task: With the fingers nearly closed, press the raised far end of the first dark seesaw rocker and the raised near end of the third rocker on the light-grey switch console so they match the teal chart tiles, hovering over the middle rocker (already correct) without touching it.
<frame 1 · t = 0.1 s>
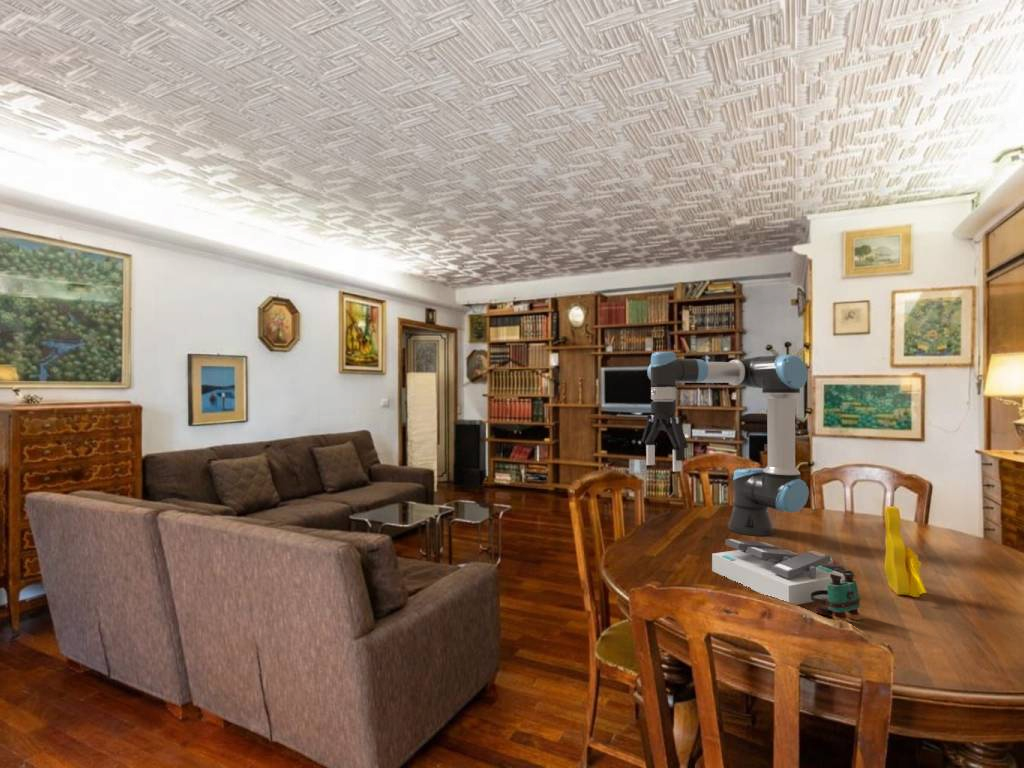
hand: (663, 468, 162), 28 cm above the table, fingers open, 13 cm apart
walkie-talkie: (824, 573, 148), on the table
binoculars: (833, 615, 120), on the table
switch 3: (800, 563, 133), point 8 cm above the table, hinge at 10.0°
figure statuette: (902, 593, 133), on the table
switch 1: (752, 545, 148), point 8 cm above the table, hinge at -10.0°
switch 2: (775, 554, 140), point 8 cm above the table, hinge at -10.0°
console: (775, 582, 140), on the table
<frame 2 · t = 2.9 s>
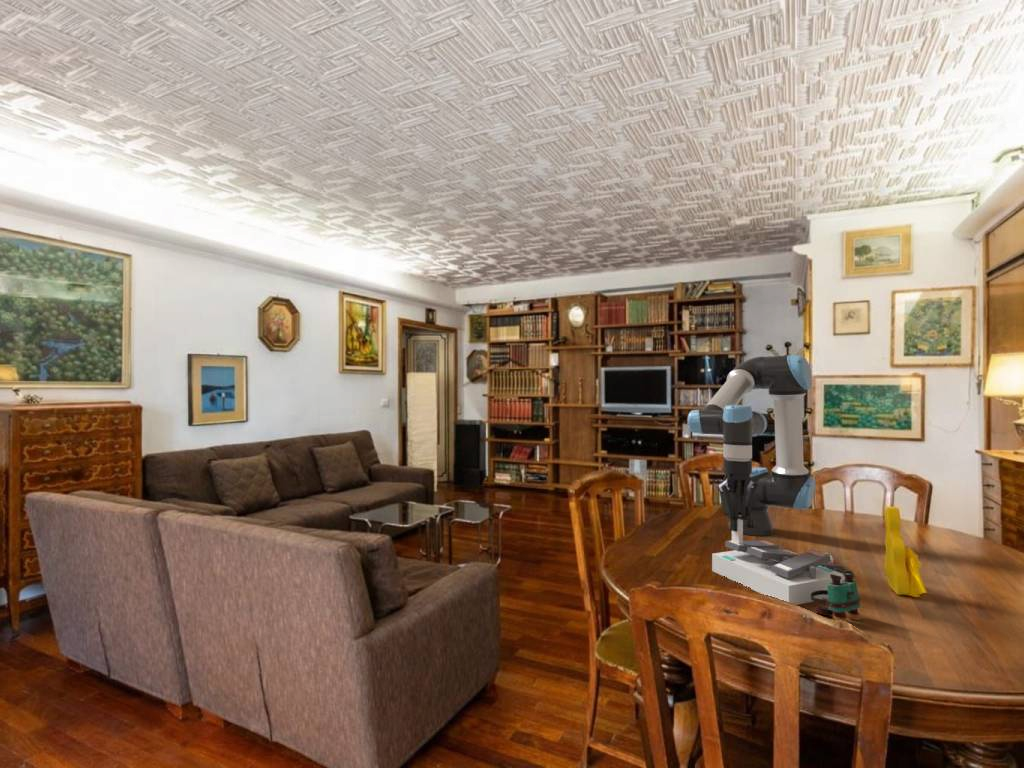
hand: (737, 542, 146), 9 cm above the table, fingers closed
switch 1: (752, 545, 148), point 8 cm above the table, hinge at -5.8°, touching gripper
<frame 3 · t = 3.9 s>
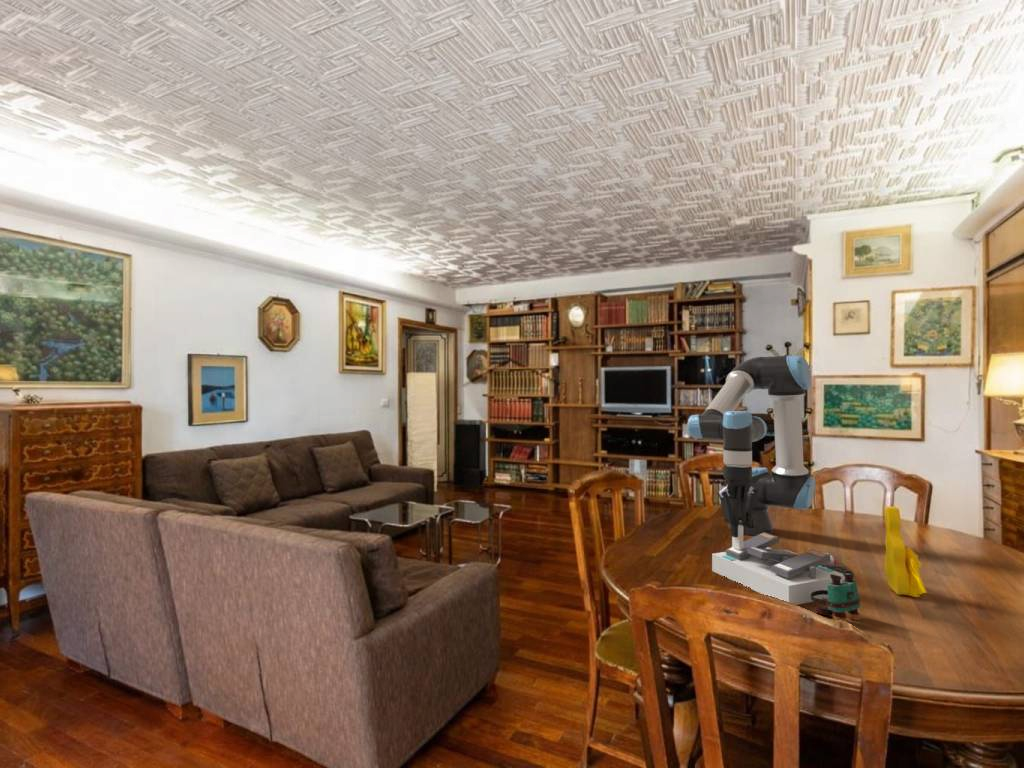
hand: (737, 547, 146), 8 cm above the table, fingers closed
switch 1: (752, 545, 148), point 8 cm above the table, hinge at 14.0°
everything else where it was.
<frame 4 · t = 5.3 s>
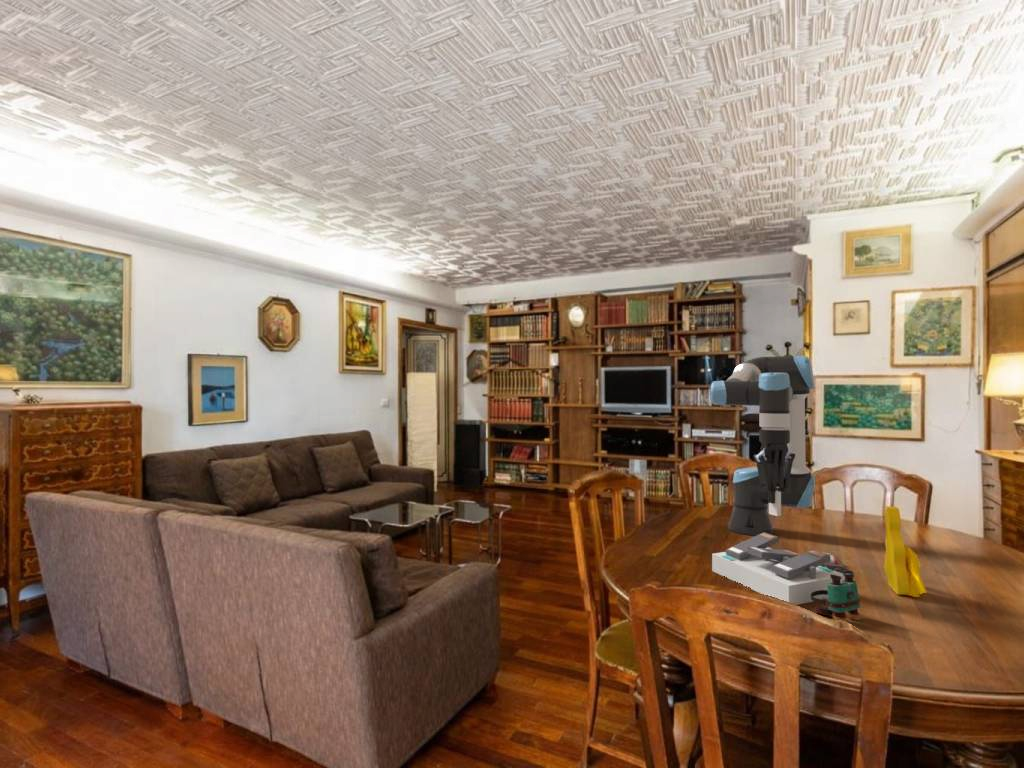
hand: (774, 514, 140), 18 cm above the table, fingers closed
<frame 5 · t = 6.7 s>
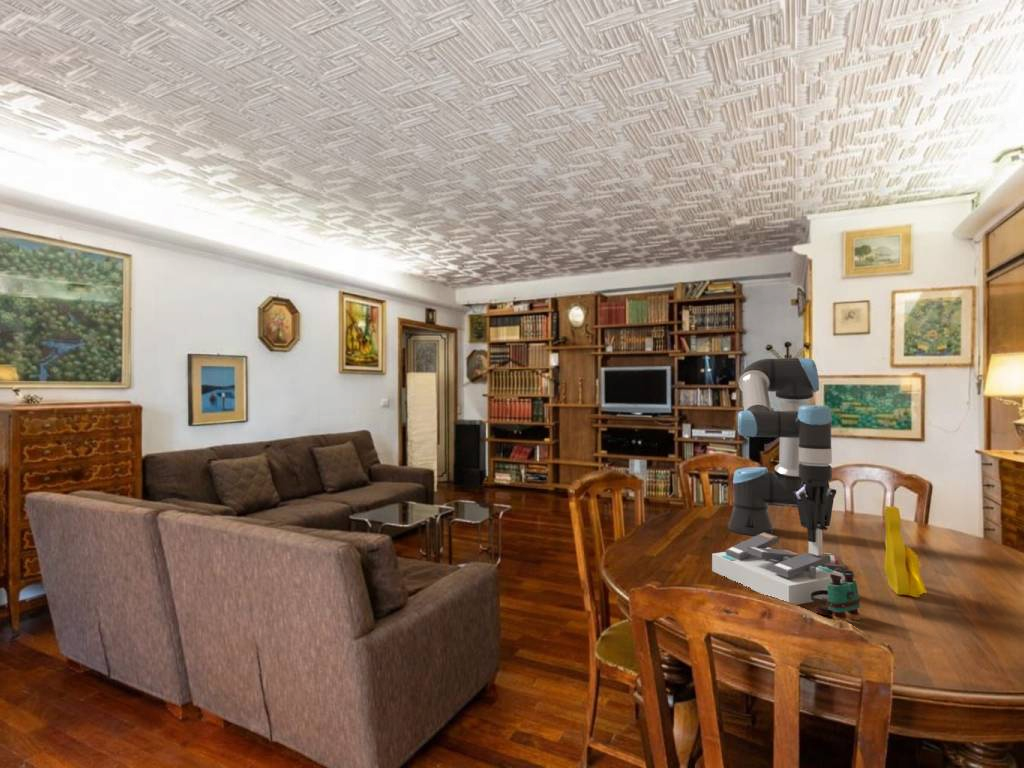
hand: (815, 553, 135), 10 cm above the table, fingers closed
switch 3: (800, 563, 133), point 8 cm above the table, hinge at 8.9°, touching gripper
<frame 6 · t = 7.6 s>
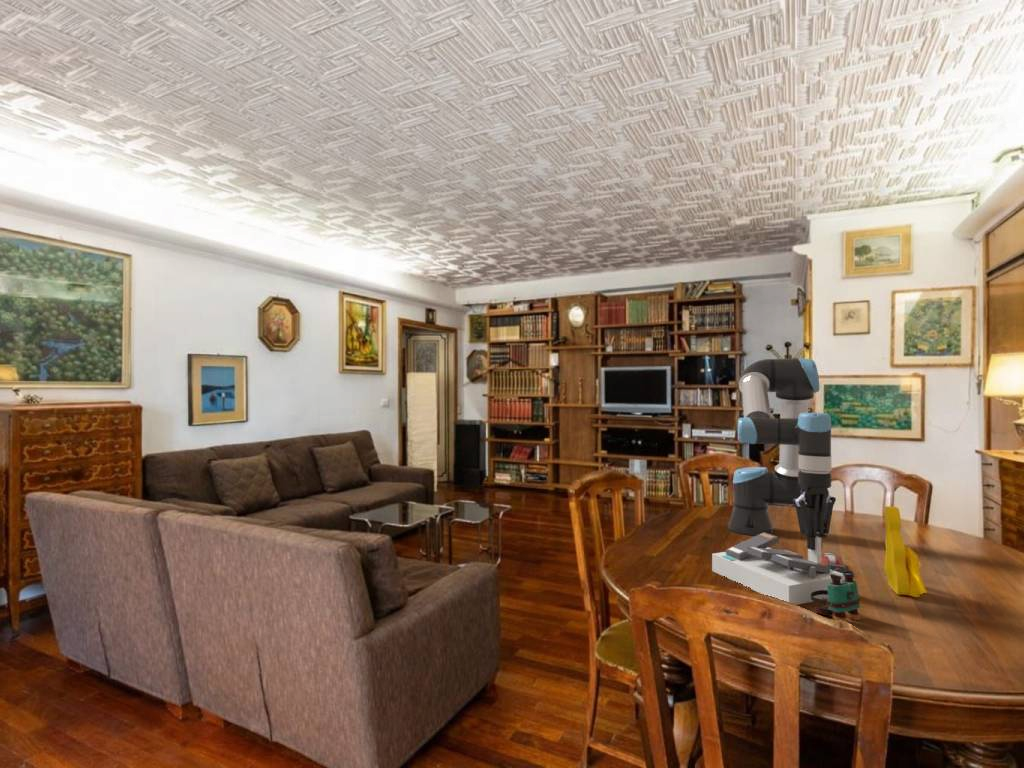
hand: (814, 561, 134), 8 cm above the table, fingers closed
switch 3: (801, 563, 133), point 8 cm above the table, hinge at -13.7°, touching gripper
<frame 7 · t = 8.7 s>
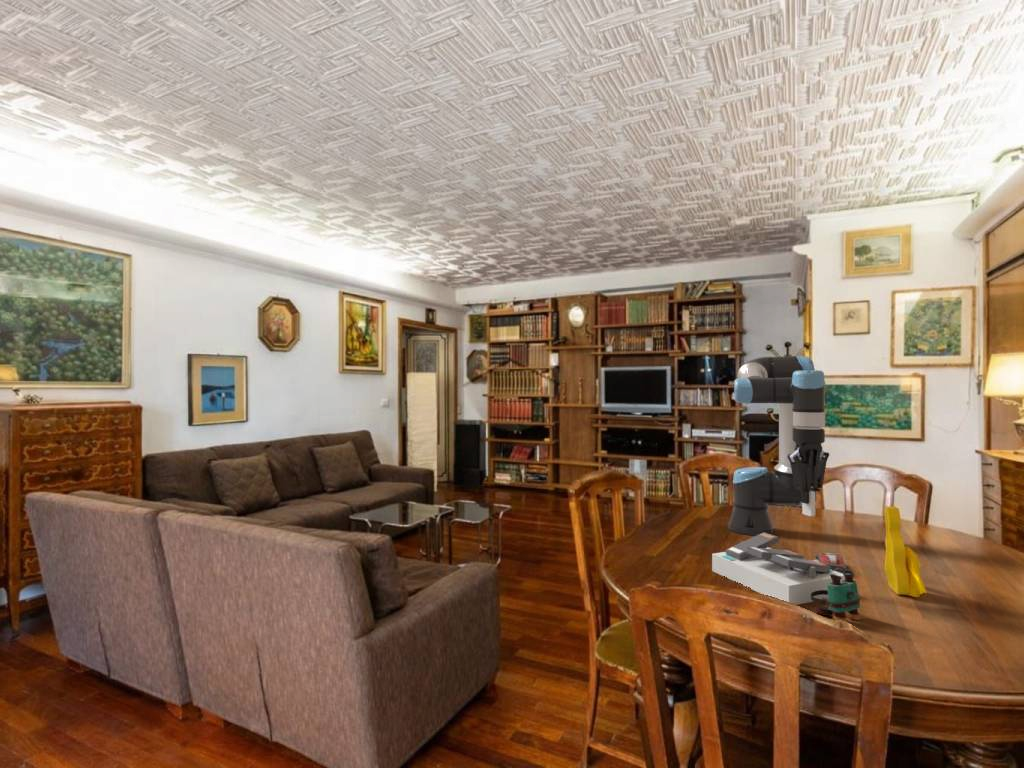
hand: (808, 514, 138), 19 cm above the table, fingers closed
switch 3: (801, 563, 133), point 8 cm above the table, hinge at -13.3°
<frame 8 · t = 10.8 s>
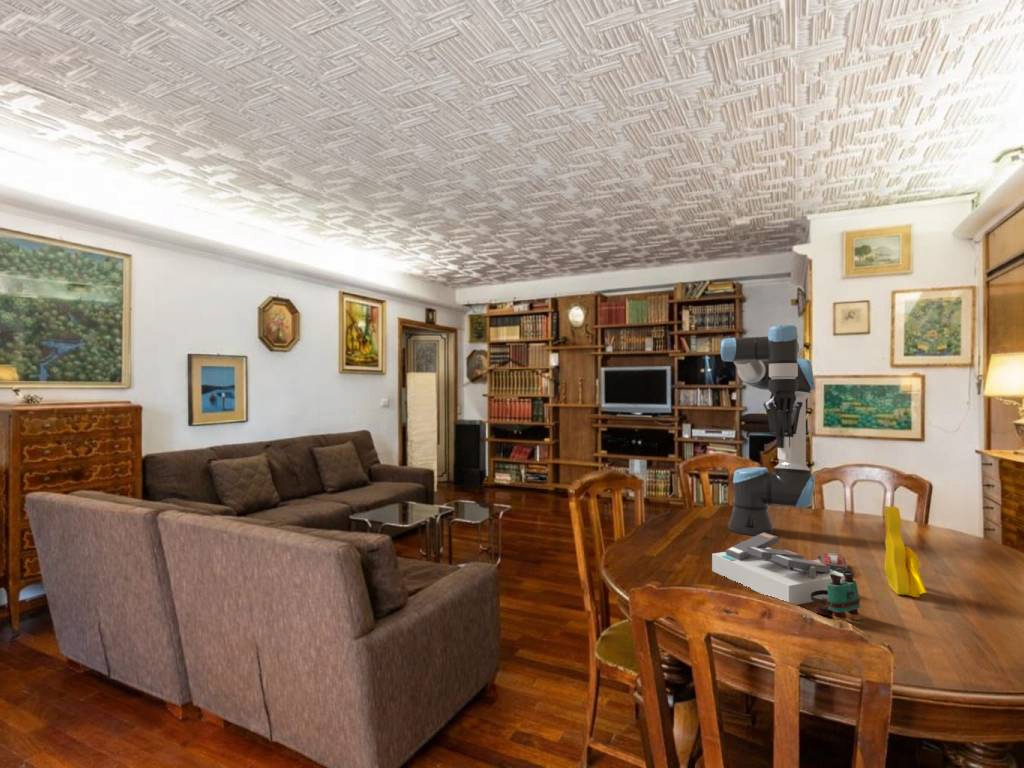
hand: (783, 459, 150), 32 cm above the table, fingers closed
at the end: switch 1 at +14° (first picture: -10°); switch 3 at -13° (first picture: +10°); switch 2 at -10° (first picture: -10°) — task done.
